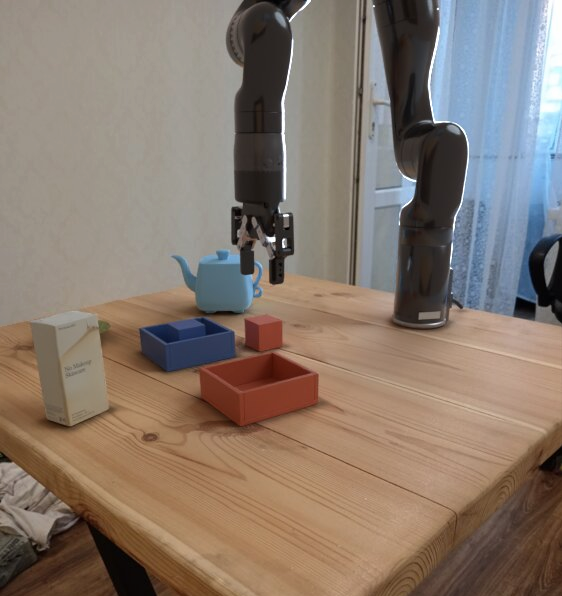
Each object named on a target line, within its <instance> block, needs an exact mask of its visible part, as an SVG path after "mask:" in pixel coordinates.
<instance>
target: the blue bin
mask: <svg viewBox="0 0 562 596" xmlns="http://www.w3.org/2000/svg"><path fill="white" fill-rule="evenodd" d="M187 319H188V318H187ZM187 319H185V320H187ZM191 319H195V320H196V321H198V322H200V323H202V324H204V325H205V331H206V336H202V337H197V338H192V339H187V340H182V341H177V342H172V343H168V333H167V323H170V322H171V321H170V322H164V323H159V324H154V325H153V324H152V325H147V326H142V327H138V332H139V341H140V342H139V343H140V350H141V352H140V353H141V354H142V355H144V356H145V357H147V358H148V359H149V360H151V361H152V362H153V363H154V364H156V365H157V366H159V367H160V368H161V369H163V370H164V371H165V372H167V373H170V372H174V371H178V370H182V369H187V368H193V367H196V366H200V365H206V364H210V363H215V362H219V361H224V360H227V359H232V358H235V357H236V335H235V331H234V330H233V329H231V328H229V327H227V326H225V325H223V324H220V323H218V322H217V321H214V320H212V319H211V318H208V317H206V316H199V317H192V318H191Z"/></svg>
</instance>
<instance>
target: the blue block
mask: <svg viewBox="0 0 562 596" xmlns="http://www.w3.org/2000/svg"><path fill="white" fill-rule="evenodd" d="M166 323H167V333H168V343H172V342H177V341H182V340H187V339H192V338H197V337H202V336H206V331H205V325H204V324H202V323H200V322H198V321H196V320H195V319H192V318H187V320H186V319H182V320H181V319H180V320H175V321H170V323H169V322H166Z"/></svg>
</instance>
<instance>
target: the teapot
mask: <svg viewBox="0 0 562 596" xmlns="http://www.w3.org/2000/svg"><path fill="white" fill-rule="evenodd" d="M215 253H216V254H207V255H205V256H203V257H201V258H200V260H199V262H198V266H197V271H196V276H195V275H194V274H193V273H192V272H191V269H190V266H189V264H188V261H187V259H186V258H185V257H184V256H181V255H175V254H169V256H170V257H171V258H173V259H174V260H175V261H176V262H177V263H178V264H179V267H180V269H181V273H182V277H183V281H184V283H185V286H186V287H187V288H188V289H189V290H190V291H191V292H193V293H194V298H195V303H196V305H197V308H198V309H199V311H202V312H204V313H205V314H214V313H216V312H232V313H234V314H241V313H244V312H245V311H246V310H248V309H249V308H250V307H251V305H252V303H253V300H254V298H255V299H257V298H258V299H259V298H261V297H262V296H263V294H264V290H263V288H262V287H261V286H259V284H260V282H261V280H262V277H263V274H264V267H263V266H262V264H261V263H260V262H259V261H257V260H256V259H254V267H257V268H258V273H257V276H256V278H255V280H254V279H253V274H251V275H242V274H241V272H240V254H231V250H230V249H225V248H224V249H217V250H215ZM256 290H257V291H259V292H258V293H257V292H256Z"/></svg>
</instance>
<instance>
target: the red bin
mask: <svg viewBox="0 0 562 596" xmlns="http://www.w3.org/2000/svg"><path fill="white" fill-rule="evenodd" d="M198 372H199V386H200V398H201V399H203V400H204V401H205V402H207V403H208V404H209V405H210V406H212V407H214V408H215V409H216V410H217V411H219V412H220V413H222V414H223V415H224V416H226V417H227V418H228V419H229V420H231V421H232V422H234V423H235V424H236V425H237V426H239V427H244V426H248V425H251V424H255V423H257V422H261V421H264V420H267V419H271V418H275V417H278V416H281V415H284V414H288V413H291V412H294V411H295V412H296V411H298V410H301V409H305V408H309V407H311V406H315V405H319V377H320V376H319V375H320V374H319V372H317V371H315V370H313V369H311V368H309V367H307V366H305V365H303V364H301V363H299V362H297V361H295V360H293V359H291V358H288V357H286V356H284V355H282V354H281V353H279V352H277V351H275V350H271V351H267V352H266V351H265V352H263V353H258V354H254V355H249V356H244V357H240V358H236V359H232V360H231V359H230V360H227V361H224V362H219V363H214V364H210V365H209V364H208V365H204V366H200V367H199V368H198Z"/></svg>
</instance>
